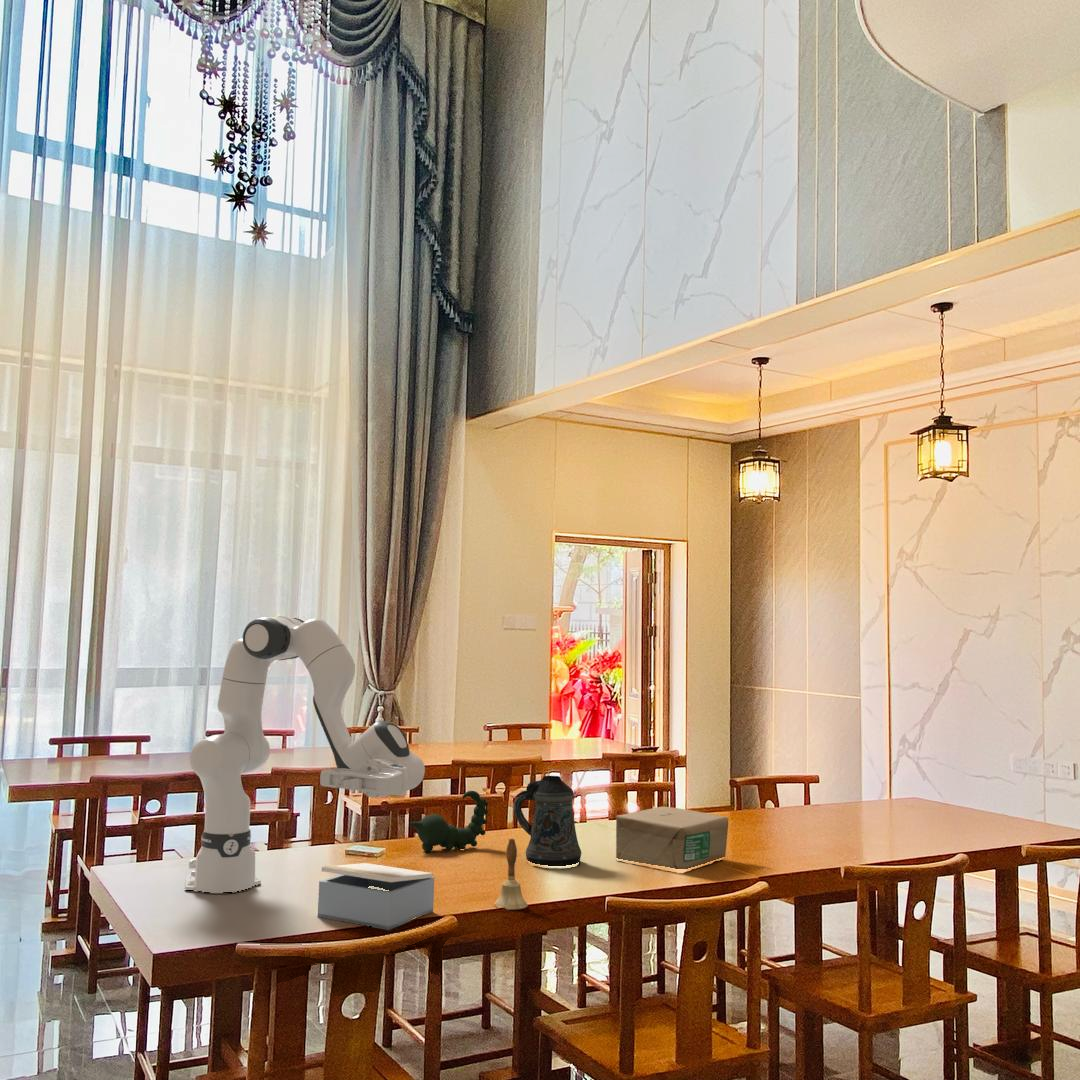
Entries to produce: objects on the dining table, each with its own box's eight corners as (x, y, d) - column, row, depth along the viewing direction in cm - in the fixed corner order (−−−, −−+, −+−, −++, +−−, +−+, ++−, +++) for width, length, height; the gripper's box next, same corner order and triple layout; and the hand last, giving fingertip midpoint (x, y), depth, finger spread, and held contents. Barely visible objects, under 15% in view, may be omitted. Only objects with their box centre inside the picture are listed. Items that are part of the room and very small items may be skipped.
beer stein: (590, 867, 292) (592, 779, 294) (528, 871, 285) (530, 781, 287) (567, 855, 307) (569, 772, 310) (507, 859, 300) (510, 774, 302)
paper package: (683, 875, 286) (684, 825, 287) (610, 861, 302) (611, 813, 304) (731, 861, 306) (731, 814, 308) (659, 849, 323) (660, 804, 324)
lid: (365, 867, 249) (366, 862, 249) (432, 877, 240) (432, 872, 240) (321, 871, 234) (322, 866, 234) (390, 882, 225) (391, 877, 225)
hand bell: (494, 910, 243) (496, 842, 245) (493, 901, 251) (495, 835, 253) (529, 910, 244) (530, 842, 245) (526, 901, 252) (528, 836, 254)
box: (365, 900, 249) (366, 866, 250) (433, 911, 240) (434, 877, 240) (317, 916, 233) (319, 881, 233) (388, 930, 224) (390, 893, 224)
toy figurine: (475, 850, 320) (401, 848, 309) (482, 789, 323) (408, 785, 312) (487, 856, 312) (411, 854, 301) (494, 793, 314) (419, 789, 303)
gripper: (342, 760, 243) (304, 766, 230) (413, 768, 233) (377, 774, 221) (341, 787, 242) (302, 794, 230) (411, 795, 233) (375, 803, 220)
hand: (340, 784), depth 225 cm, fingers closed
